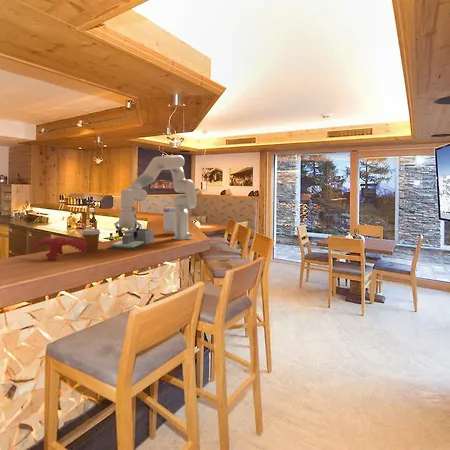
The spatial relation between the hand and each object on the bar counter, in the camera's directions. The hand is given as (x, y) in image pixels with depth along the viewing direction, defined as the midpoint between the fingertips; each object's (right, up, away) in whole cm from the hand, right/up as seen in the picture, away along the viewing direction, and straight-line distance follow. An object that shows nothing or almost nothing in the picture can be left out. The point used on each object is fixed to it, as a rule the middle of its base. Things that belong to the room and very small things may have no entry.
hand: (127, 237), depth 202 cm
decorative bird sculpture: (-26, -10, -33) cm, 43 cm away
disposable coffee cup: (-17, -7, -14) cm, 23 cm away
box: (+3, -4, +17) cm, 18 cm away
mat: (0, -6, +1) cm, 6 cm away
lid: (0, -5, +1) cm, 5 cm away
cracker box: (+19, 0, +56) cm, 59 cm away
